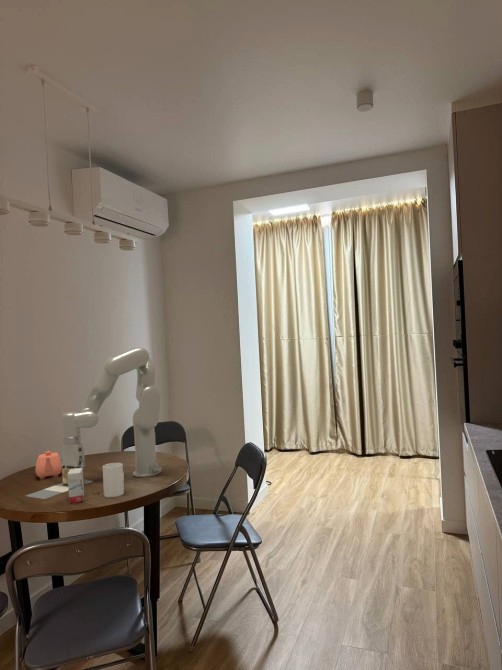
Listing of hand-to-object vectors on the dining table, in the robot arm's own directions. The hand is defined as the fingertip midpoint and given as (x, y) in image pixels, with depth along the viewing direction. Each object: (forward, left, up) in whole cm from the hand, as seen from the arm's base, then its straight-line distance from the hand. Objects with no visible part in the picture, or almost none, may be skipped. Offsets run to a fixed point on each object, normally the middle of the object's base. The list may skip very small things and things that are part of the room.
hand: (73, 480), depth 211 cm
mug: (-25, +2, -2) cm, 26 cm away
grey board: (0, +7, -2) cm, 7 cm away
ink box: (-17, +14, -2) cm, 23 cm away
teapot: (+25, -7, -2) cm, 26 cm away
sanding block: (0, 0, -1) cm, 1 cm away
